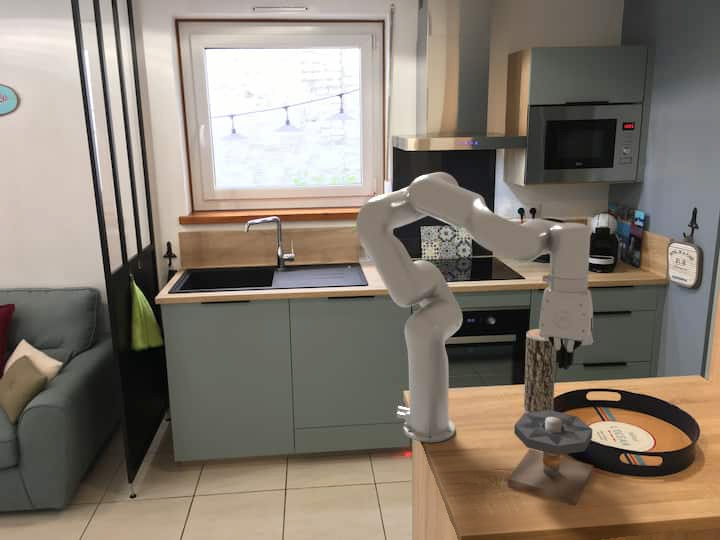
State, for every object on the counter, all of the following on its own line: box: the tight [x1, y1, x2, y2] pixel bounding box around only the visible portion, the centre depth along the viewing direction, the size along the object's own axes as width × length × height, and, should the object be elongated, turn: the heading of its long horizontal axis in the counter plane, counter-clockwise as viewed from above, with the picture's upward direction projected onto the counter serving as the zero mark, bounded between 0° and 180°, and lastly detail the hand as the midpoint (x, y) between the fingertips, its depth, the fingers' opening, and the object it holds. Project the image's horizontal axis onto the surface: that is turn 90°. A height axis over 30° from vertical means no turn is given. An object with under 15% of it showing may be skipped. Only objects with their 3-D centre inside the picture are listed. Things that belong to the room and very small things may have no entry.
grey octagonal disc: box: [514, 410, 593, 456], centre depth 133 cm, size 14×14×2 cm
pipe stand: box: [507, 417, 594, 506], centre depth 134 cm, size 14×14×14 cm
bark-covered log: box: [523, 328, 557, 414], centre depth 153 cm, size 7×7×25 cm
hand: (564, 366), depth 136 cm, fingers closed
